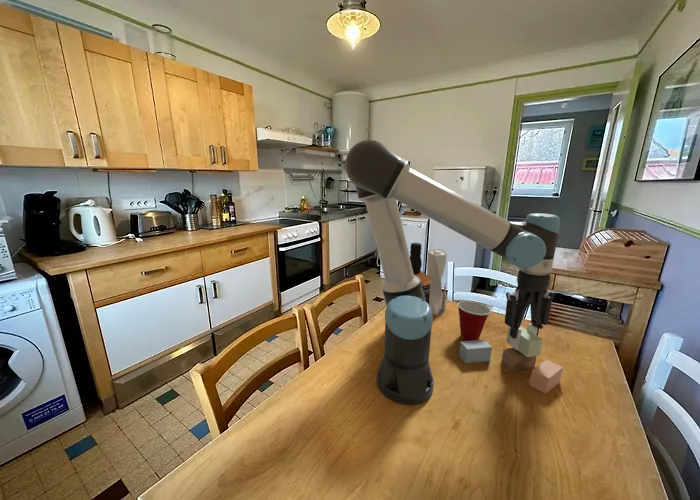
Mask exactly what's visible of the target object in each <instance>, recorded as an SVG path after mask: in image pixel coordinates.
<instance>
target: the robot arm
mask: <svg viewBox="0 0 700 500" xmlns="http://www.w3.org/2000/svg"><path fill="white" fill-rule="evenodd" d="M344 163H345V167H344V168H345V172H346V175H347V177H348V179H349V181H350V182H351V183H352V184H353V185H354V187H355V189H356V194H357V197H358V200H359V201H360V202H363V203H364V204H365V207H366V210H367V213H368V214H367V215H368V218H369V219H368V220H369V223H370V227H371V230H372V235H373V238H374V241H375V245H376V249H377V253H378V257H379V260H380V264H381V265H380V266H381V269H382V274H383V277H384V282H383V284H382V285H381V289H382V293H383V296H384V300H385V304H386V308H385V311H384V321H385V322H384V323H385V325H384V349H383V350H384V351H383V353H384V354H383V357H382V359H381V362H380V364H379V367H378V369H377V372H376V384H377V388H378V389H379V391H380V392H381V393H382V394H383V395H384V397H386V398H387V399H389V400H391V401H393V402H395V403H398V404H403V405H417V404H421V403H424V402H425V401H427V400H428V399H429V398H431V396H432V395H433V393H434V392H433V391H434V384H435V382H434V380H435V379H434V376H433V372H432V369H431V365H430V362H429V358H430V350H431V349H430V347H431V338H432V335H431V334H432V326H433V322H434V319H433V317H434V315H432V310H431V307H430V306H429V304H428V303H427V302H426V299H425V295H424V293H423V289H422V285H421V281H420V278H419V277H417V276H415V275H414V273H413V269H412V265H411V261H410V251H409V249H408V245H407V240H406V235H405V231H404V226H403V223H402V219H401V214H400V210H399V205H398V201H399V203H401V204H403V205H404V206H405V205H406V206H407V207H410V208H411V209H412V210H415V211H417V212H419V213H420V214H421V215H422V214H423V215H424V216H425V217H427V218H430V219H431V220H433V221H434V222H437V223H439V224H441V225H443V226H445V227H447V228H448V229H450V230H452V231H454V232H456V233H458V234H460V235H461V236H463V237H465V238H467V239H468V240H470V241H472V242H474V243H475V245H476V246H477V248H479V249H484V250H485V249H486V250H489V251H491V252H492V253H494V254H496V255H498V256H499V257H502V258H503V259H505V260H506V261H508V263H510V264H511V265H514V266H516V267H518V268H519V269H518V271H517V278H516V283H517V287H516V288H515V291H512V292H509V291H508V292H506V293H505V297H506V306H505V316H504V324H506V325H507V326H508V327H511V328H510V336H511V340H510V344H509V345H510V347H511V348H514V349H516V350H519V344H520V338H521V332H522V329H520V326H522V325H521V324H522V322H523V320H524V317H525V314H526V311H527V309H529V308H530V323H528V325H527V329H526V330H528V331H529V332H531V333H533V334H534V335H536V336H537V337H539V336H538V335H539V331H540V330H542V329H544V326H547V324H548V322H549V317H550V313H551V308H552V303H553V301H554V299H555V297H556V292H553V291H552V290H549V289H547V288H549V286H550V282H551V277H552V276H551V274H550V273H551V272H552V271H553V265H554V259H555V253H556V249H557V244H558V239H559V235H560V230H561V229H560V226H561V218H560V216H558V215H556V214H550V213H540V212H539V213H536V212H535V213H528V214H527V215H526V218H525V220H524V221H523V220H522V221H509V220H508V219H506V218H504V217H502V216H500V215H498V214H496V213H494V212H493V211H491V210H489V209H486V208H485V207H483V206H482V205H479V204H478V203H475V202H474V201H472V200H470V199H468V198H466V197H465V196H463V195H461V194H460V193H457V192H455V191H453V190H451V189H450V188H447V187H446V186H444V185H442V184H441V183H438V182H436V181H434V179H433V180H432V179H431V178H429V177H427V176H426V175H424V174H422V173H420V172H419V171H416V170H415V169H412V168H411V167H410V164H409V161H408V160H406V159H405V158H402V157H401V156H399V155H397V154H395V152H393V151H392V150H390V149H389V148H388V147H387V146H386V145H384V144H383V143H382V142H380V141H377V140H374V139H365V140H361V141H359V142H357V143H355V144H354V145H353V146H352V147H351V148H350V150H348V153H347V154H346V158H345V162H344ZM543 325H544V326H543Z"/></svg>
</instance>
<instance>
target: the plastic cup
mask: <svg viewBox="0 0 700 500" xmlns="http://www.w3.org/2000/svg"><path fill="white" fill-rule="evenodd" d="M457 308H458V314H459V317H458V318H459V319H458V320H459V329H460V336H461V339H463V340H464V341H474V340H480V337H481V334H482V332H483V330H484V327H485V324H486V322H487V319H488V317H489V316H490V315H491V313H492V309H491V308H490V307H489V306H487V305H485V304H483V303H480V302H475V301H470V300H461V301H458V302H457Z"/></svg>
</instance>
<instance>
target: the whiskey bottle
mask: <svg viewBox="0 0 700 500" xmlns="http://www.w3.org/2000/svg"><path fill="white" fill-rule="evenodd" d="M409 248H410V249H409V250H410V251H409V256H410V261H411V265H412V269H413V273H414V275H415V276H417V277H419V278H420V281H421V285H422V289H423V293H424V295H425V299H426V302H427V303H428V304H429V296H430V284H431V281H432V279H431V277H430V276H428V275H427V273H425V272H424V271H422V270H421V269H422V265H423V264H422V258H421V254H422V244H421V243H419V242H412V243H410V247H409Z"/></svg>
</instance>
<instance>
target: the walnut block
mask: <svg viewBox="0 0 700 500" xmlns="http://www.w3.org/2000/svg"><path fill="white" fill-rule="evenodd" d="M537 357H538V356H533V357H526V356H525V355H524V354H522V353H521V352H519V351H518V350H516V349H514V348H513V347H509V348H503V351H502V356H501V365H503V366H504V367H505V368H506V369H507V370H509V372H511V373H512V372H518V371H524V370H530V369H531V370H532V369H534V368H535V367H536V362H537Z"/></svg>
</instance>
